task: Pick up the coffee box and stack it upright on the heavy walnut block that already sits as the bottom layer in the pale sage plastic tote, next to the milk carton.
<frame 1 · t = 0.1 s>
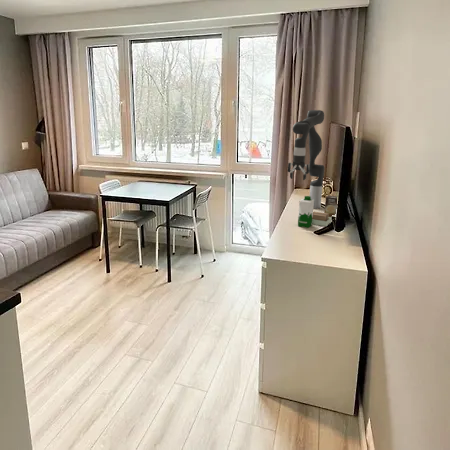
hand: (297, 179, 255), 29 cm above the table, fingers open, 8 cm apart
coffee box: (331, 219, 270), on the table
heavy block: (318, 222, 258), point 1 cm above the table, touching tote
tote: (318, 223, 259), on the table
milk carton: (304, 227, 252), on the table
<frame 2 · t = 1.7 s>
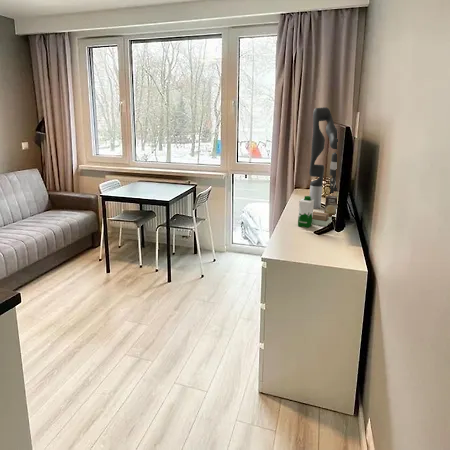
hand: (333, 192, 264), 19 cm above the table, fingers open, 8 cm apart
nothing on the table moved.
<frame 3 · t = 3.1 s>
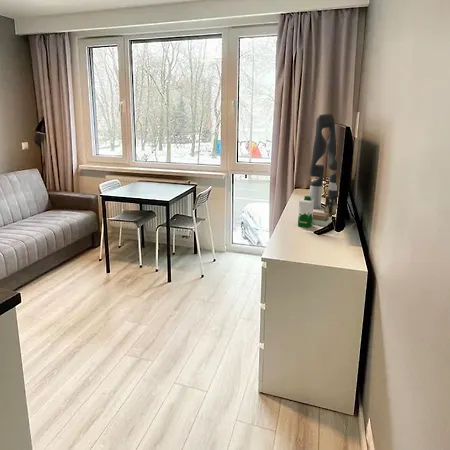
hand: (331, 212, 269), 5 cm above the table, fingers closed on coffee box, 6 cm apart
coffee box: (331, 219, 270), on the table, touching gripper
everything else where it was.
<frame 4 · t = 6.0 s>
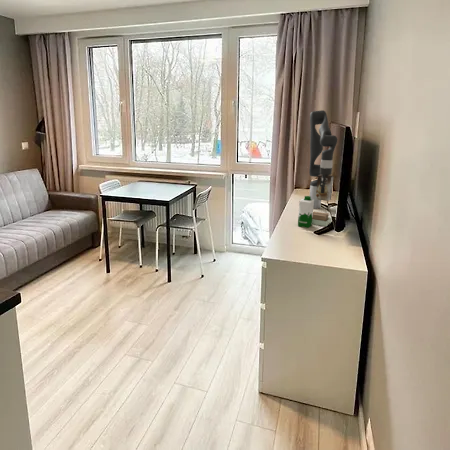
hand: (323, 192, 254), 22 cm above the table, fingers closed on coffee box, 6 cm apart
coffee box: (323, 199, 255), point 16 cm above the table, touching gripper
everything else where it was.
when the fingers open (13 cm above the table, at t = 8.6 s): coffee box drops 1 cm, resting on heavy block.
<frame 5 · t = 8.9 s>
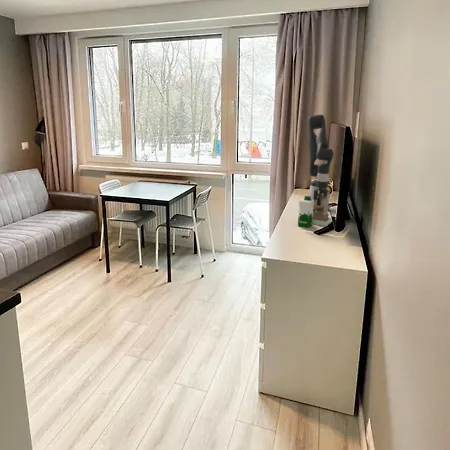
hand: (320, 204, 255), 14 cm above the table, fingers open, 8 cm apart
coffee box: (319, 214, 257), point 7 cm above the table, touching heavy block
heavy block: (318, 222, 258), point 1 cm above the table, touching coffee box, tote
everything else where it was.
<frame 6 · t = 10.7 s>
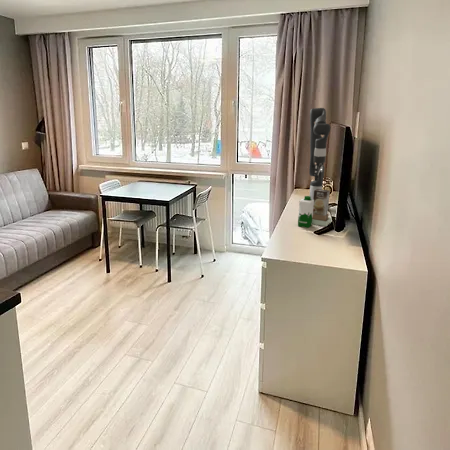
hand: (318, 179, 257), 29 cm above the table, fingers open, 8 cm apart
nothing on the table moved.
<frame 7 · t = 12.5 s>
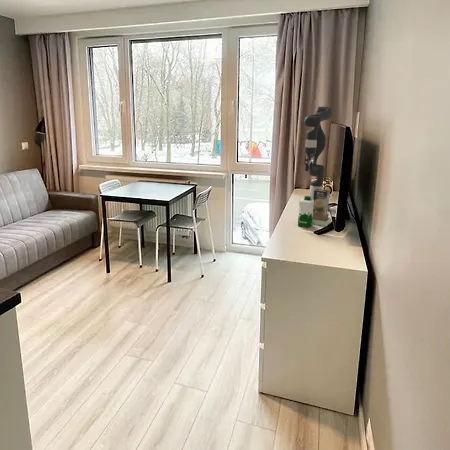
hand: (308, 170, 267), 33 cm above the table, fingers open, 8 cm apart
nothing on the table moved.
at the end: coffee box 0.1 cm from the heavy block (horizontally); coffee box point 6.8 cm above the table; coffee box tilted 0° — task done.
